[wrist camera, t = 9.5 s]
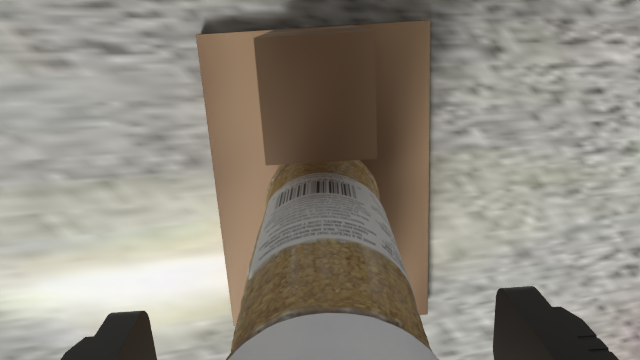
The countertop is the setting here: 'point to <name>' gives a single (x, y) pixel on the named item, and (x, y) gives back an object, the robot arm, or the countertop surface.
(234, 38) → the walnut slotted holder
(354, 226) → the sprinkles bottle
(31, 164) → the countertop surface
